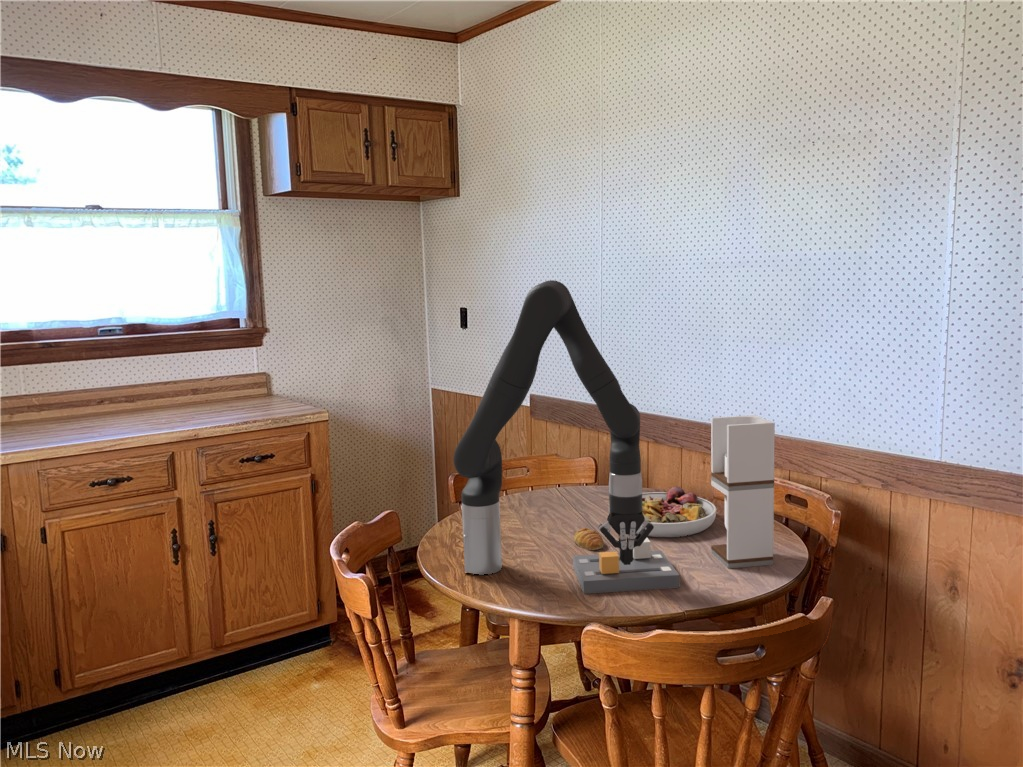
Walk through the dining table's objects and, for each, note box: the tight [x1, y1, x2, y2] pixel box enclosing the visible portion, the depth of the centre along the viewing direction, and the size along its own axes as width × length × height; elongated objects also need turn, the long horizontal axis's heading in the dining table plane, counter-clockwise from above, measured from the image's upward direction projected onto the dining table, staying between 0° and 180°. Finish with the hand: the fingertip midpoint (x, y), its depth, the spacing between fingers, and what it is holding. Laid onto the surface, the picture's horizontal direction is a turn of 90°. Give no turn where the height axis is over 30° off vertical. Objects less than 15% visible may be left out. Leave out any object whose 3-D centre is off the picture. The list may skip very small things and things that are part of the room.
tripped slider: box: [598, 551, 619, 574], centre depth 182 cm, size 4×3×4 cm
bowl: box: [635, 486, 717, 538], centre depth 225 cm, size 30×30×8 cm
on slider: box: [633, 537, 652, 559], centre depth 190 cm, size 4×3×4 cm
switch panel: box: [572, 550, 681, 595], centre depth 187 cm, size 22×16×3 cm
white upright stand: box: [710, 414, 776, 569], centre depth 193 cm, size 11×11×35 cm
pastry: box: [573, 527, 605, 551], centre depth 209 cm, size 9×7×4 cm
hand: (626, 563), depth 182 cm, fingers closed
